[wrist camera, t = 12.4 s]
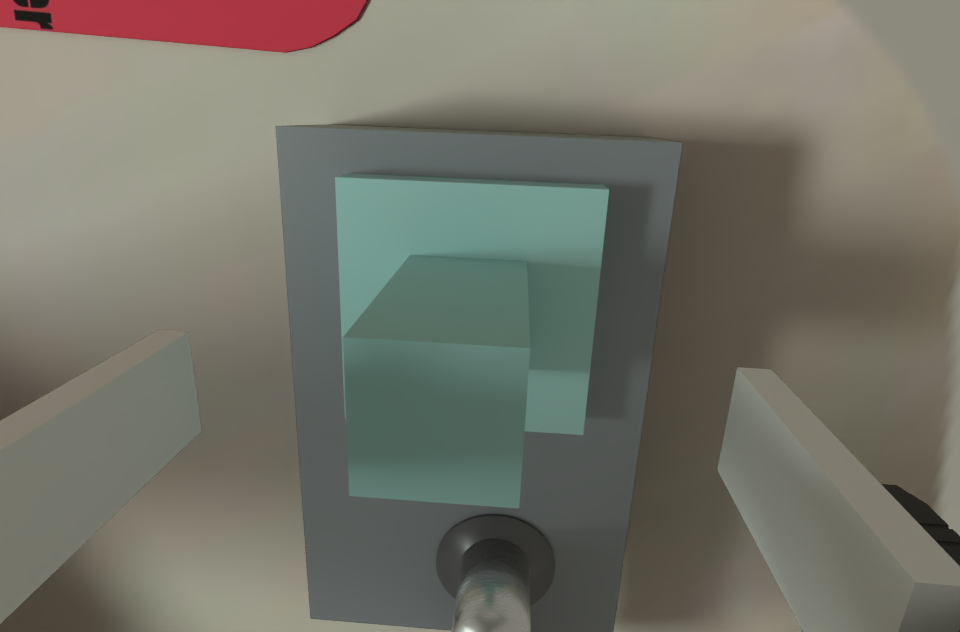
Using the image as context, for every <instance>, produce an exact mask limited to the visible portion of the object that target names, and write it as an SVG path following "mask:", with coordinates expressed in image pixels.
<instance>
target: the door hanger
mask: <svg viewBox="0 0 960 632" xmlns="http://www.w3.org/2000/svg"><path fill="white" fill-rule="evenodd" d="M366 3H367V0H0V27H8V28H19V29H30V30H41V31H52V32H63V33H75V34H86V35H97V36H108V37H119V38H131V39H142V40H153V41H164V42H175V43H187V44H198V45H209V46H220V47H231V48H242V49H253V50H264V51H275V52H291V51H296V50H301V49H306V48H311V47H313V46H315V45H317V44H319V43H322V42H324V41H326V40H328V39H330V38H332V37H334V36H335V35H337V34H338V33H339V32H341V31H342V30H344V29H345V28H347V27H348V26H349V25H351V24H352V23H354V22H355V21H356V20H357V19H358V17H359V16H360V14H361V12H362V10H363V8H364V6H365V5H366Z"/></svg>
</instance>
